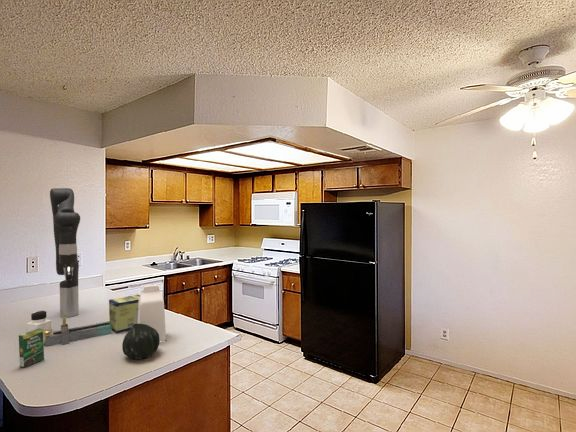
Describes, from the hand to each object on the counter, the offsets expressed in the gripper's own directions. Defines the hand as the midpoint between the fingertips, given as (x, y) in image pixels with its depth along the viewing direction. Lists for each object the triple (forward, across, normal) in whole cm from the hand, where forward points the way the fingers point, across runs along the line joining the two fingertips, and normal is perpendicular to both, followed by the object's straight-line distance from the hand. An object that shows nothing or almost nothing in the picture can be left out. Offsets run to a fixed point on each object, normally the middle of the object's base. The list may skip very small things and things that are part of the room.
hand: (68, 287), depth 166 cm
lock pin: (+22, +2, -2) cm, 23 cm away
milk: (+24, +28, +32) cm, 49 cm away
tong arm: (+23, +4, +5) cm, 24 cm away
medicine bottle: (+24, -8, -12) cm, 28 cm away
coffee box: (+24, +27, -14) cm, 38 cm away
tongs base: (+24, +6, +3) cm, 25 cm away
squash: (+24, +44, +24) cm, 56 cm away
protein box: (+24, +4, +26) cm, 36 cm away
